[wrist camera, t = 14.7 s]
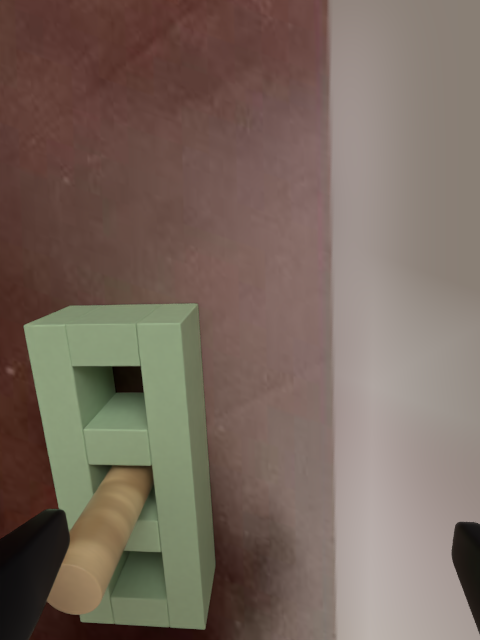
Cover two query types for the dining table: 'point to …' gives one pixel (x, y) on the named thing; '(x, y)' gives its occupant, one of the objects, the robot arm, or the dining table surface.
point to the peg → (100, 539)
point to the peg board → (133, 447)
